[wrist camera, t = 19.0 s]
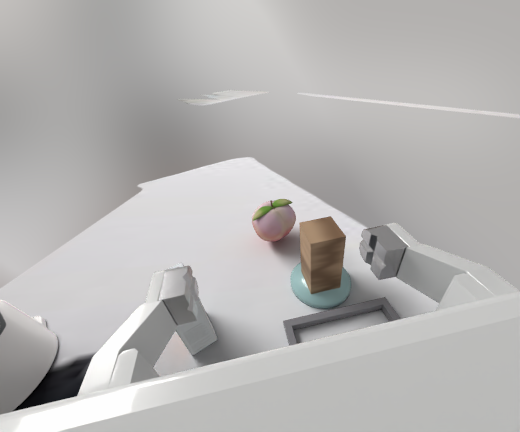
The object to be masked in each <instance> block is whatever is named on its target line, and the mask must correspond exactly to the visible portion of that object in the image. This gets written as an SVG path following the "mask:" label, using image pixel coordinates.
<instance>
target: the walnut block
mask: <svg viewBox="0 0 520 432" xmlns="http://www.w3.org/2000/svg"><path fill="white" fill-rule="evenodd" d="M345 239H346V236H345V235H344V233H343V232H342V231H341V229H340V228H339V227H338V225H337V224H336V223H335V221H334V220H333V219H332V217H331V216H330V217H325V218H321V219H316V220H311V221H306V222H301V223H300V250H301V272H302V274H303V277H304V279H305V281H306V284H307V286H308V289H309V291H310V293H311V294H314V293H319V292H323V291H327V290H332V289H336V288H340V285H341V276H342V267H343V258H344V249H345Z"/></svg>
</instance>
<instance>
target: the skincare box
mask: <svg viewBox="0 0 520 432" xmlns="http://www.w3.org/2000/svg"><path fill="white" fill-rule="evenodd" d="M179 267H184V265H183V263H179V264H177V265H175V266H173V267H171V268H169V269H173V268H179ZM167 270H168V269H167ZM196 304H197V306H198V312H197V321H194V322H190V323H186V324H182V325H178V326H177V329H176V332H177V333H178V335H179V336H180V338H181V339H182V341H183V343H184V344H185V346H186V347H187V349H188V350H189V352H190V353H191V355H195V354H196V353H198V352H199V351H201V350H202V349H204V348H205V347H207V346H209V345H210V344H212V343H213V342H215V341H216V340H218V338H217V336H216V333H215V331H214V329H213V326H212V324H211V322H210V320H209V318H208V316H207V314H206V312H205V309H204V307H203V305H202V303H201V301H200V299H199V297H198V299H197V301H196Z"/></svg>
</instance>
